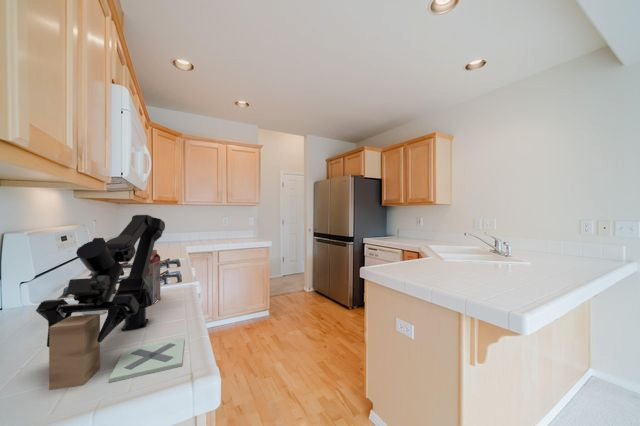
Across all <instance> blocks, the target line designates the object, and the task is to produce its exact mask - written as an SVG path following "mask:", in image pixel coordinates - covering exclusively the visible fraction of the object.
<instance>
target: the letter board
mask: <svg viewBox="0 0 640 426" xmlns="http://www.w3.org/2000/svg"><path fill="white" fill-rule="evenodd" d="M184 350H185V337H183V338H177V339H172V340H166V341H161V342H155V343H151V344H150V343H149V344H144V345H139V346H134V347H129V348H125V349H124V350H123V352H122V353H121V354H120V357H119V360H118V361H117V363H116V365H115V367H114V368H113V371H112V372H111V374H110V376H109V378H108V383H114V382H118V381H122V380H126V379H130V378H131V379H132V378H135V377H140V376H144V375H145V376H146V375H148V374H153V373H154V374H155V373H156V372H158V373H159V372H161V371H165V370H171V369H175V368H180V367H182V366H183V361H184V360H183V359H184V358H183V357H184V352H185V351H184Z"/></svg>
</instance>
